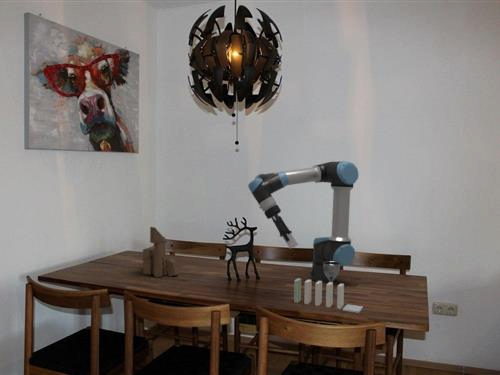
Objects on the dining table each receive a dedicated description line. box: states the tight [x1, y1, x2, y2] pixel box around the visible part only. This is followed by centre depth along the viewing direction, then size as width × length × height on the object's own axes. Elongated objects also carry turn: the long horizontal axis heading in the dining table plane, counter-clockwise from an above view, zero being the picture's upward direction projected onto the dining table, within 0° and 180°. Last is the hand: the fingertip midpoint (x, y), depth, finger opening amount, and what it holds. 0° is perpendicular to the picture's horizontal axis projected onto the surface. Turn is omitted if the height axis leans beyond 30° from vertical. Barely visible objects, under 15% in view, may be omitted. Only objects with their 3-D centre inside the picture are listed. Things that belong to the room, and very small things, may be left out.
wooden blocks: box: [142, 226, 180, 278], centre depth 261 cm, size 24×20×28 cm
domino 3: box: [314, 281, 323, 307], centre depth 206 cm, size 2×5×10 cm, turn 154°
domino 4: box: [325, 281, 334, 308], centre depth 203 cm, size 2×5×10 cm, turn 154°
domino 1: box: [293, 277, 302, 304], centre depth 210 cm, size 2×5×10 cm, turn 154°
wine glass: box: [323, 261, 341, 296], centre depth 224 cm, size 8×8×15 cm
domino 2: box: [303, 279, 313, 305], centre depth 208 cm, size 2×5×10 cm, turn 154°
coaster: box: [342, 303, 364, 314], centre depth 199 cm, size 8×7×1 cm
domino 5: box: [336, 282, 345, 310], centre depth 201 cm, size 2×5×10 cm, turn 154°
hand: (294, 246), depth 213 cm, fingers open, 13 cm apart
